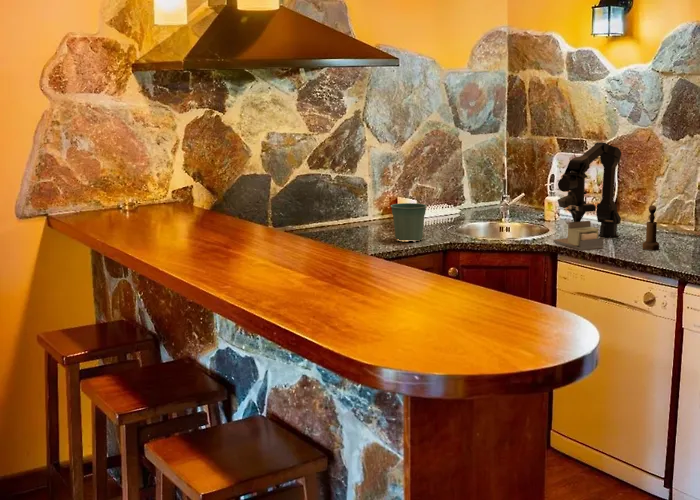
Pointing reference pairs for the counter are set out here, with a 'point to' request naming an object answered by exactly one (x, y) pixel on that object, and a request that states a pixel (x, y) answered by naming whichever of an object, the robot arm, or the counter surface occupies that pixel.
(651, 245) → the brown pedestal figurine
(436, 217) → the counter surface
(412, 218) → the flower pot
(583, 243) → the housing base
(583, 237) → the collar
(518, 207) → the counter surface
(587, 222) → the cover
